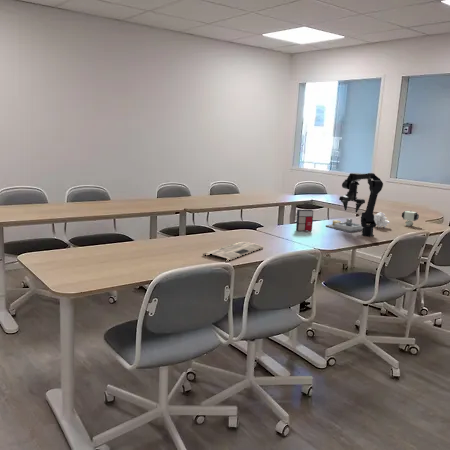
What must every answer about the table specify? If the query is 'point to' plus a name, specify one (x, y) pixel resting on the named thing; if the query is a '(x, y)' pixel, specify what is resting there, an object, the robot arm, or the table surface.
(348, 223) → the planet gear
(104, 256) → the table surface
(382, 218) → the white lumpy lump
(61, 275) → the table surface
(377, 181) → the robot arm
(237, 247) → the newspaper
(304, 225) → the grey and red box
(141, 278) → the table surface
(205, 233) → the table surface
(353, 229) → the carrier plate
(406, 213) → the pneumatic valve
